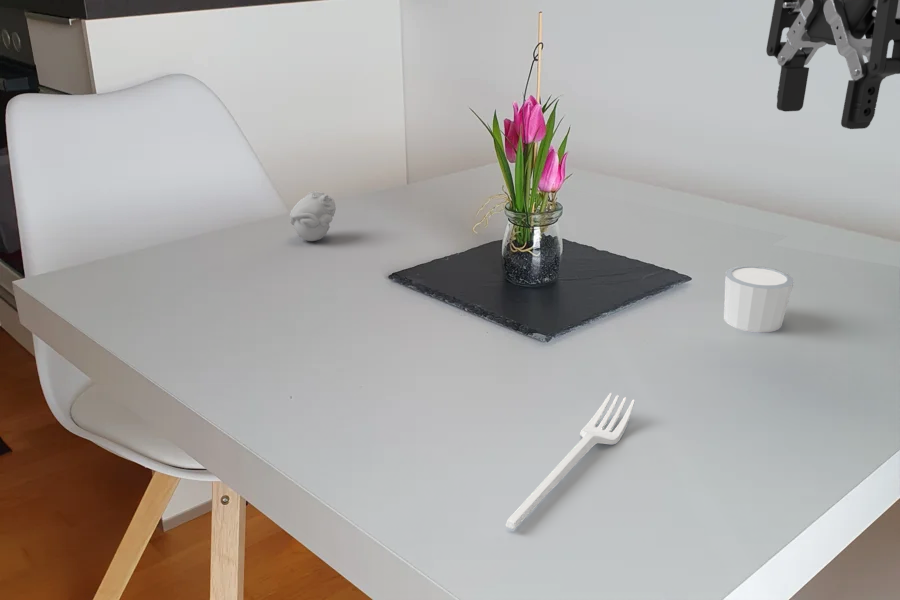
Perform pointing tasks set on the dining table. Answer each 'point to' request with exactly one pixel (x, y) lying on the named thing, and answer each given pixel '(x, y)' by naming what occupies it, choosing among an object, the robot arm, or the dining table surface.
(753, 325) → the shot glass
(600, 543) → the dining table surface
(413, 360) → the dining table surface
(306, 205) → the frog figurine
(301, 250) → the dining table surface
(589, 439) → the fork
